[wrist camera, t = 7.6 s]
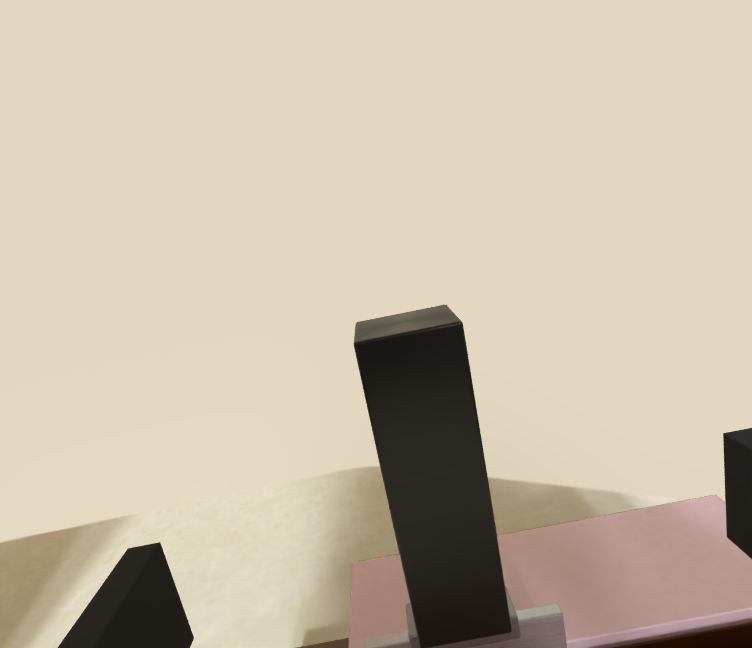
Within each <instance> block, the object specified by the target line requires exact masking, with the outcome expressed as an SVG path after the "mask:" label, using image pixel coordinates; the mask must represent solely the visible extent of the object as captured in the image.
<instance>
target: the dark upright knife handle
mask: <svg viewBox="0 0 752 648" xmlns="http://www.w3.org/2000/svg"><path fill="white" fill-rule="evenodd" d="M354 348H355V352H356V358H357V362H358V367H359V371H360V376H361V380H362V384H363V389H364V394H365V399H366V403H367V408H368V412H369V417H370V421H371V426H372V431H373V435H374V440H375V444H376V449H377V454H378V458H379V463H380V467H381V472H382V476H383V481H384V486H385V490H386V495H387V499H388V504H389V508H390V513H391V518H392V522H393V527H394V531H395V536H396V540H397V545H398V550H399V554H400V559H401V563H402V568H403V573H404V577H405V582H406V586H407V591H408V595H409V600H410V603H408V604H406V606H405V609H406V618H407V628H408V631H403V632H397V633H392V634H386V635H381V636H375V637H370V638H366V639H365V648H567V643H566V636H565V628H564V620H563V613H562V611H561V609H560V607H559V605H558V604H557V603H555V604H550V605H544V606H539V607H533V608H528V609H523V610H517V611H515V608H514V606H513V603H512V600H511V598H510V595H509V592H508V590H507V587H506V586H505V583H504V577H503V570H502V564H501V558H500V552H499V546H498V539H497V533H496V527H495V521H494V515H493V508H492V502H491V496H490V490H489V484H488V477H487V471H486V465H485V459H484V453H483V446H482V441H481V434H480V428H479V422H478V415H477V409H476V403H475V398H474V391H473V385H472V378H471V372H470V366H469V360H468V354H467V347H466V341H465V335H464V329H463V323H462V322H461V320H460V319H459V318H458V317H457V316H456V315H455V314H454V313H453V312H452V311H451V309H449V307H447V305H441V306H436V307H431V308H426V309H421V310H416V311H412V312H406V313H401V314H396V315H391V316H386V317H381V318H376V319H371V320H366V321H361V322H357V323H356V327H355V337H354Z"/></svg>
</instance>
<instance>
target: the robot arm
mask: <svg viewBox="0 0 752 648" xmlns="http://www.w3.org/2000/svg"><path fill="white" fill-rule="evenodd" d="M723 436H724V466H725V499H726V530H727V538H728V539H729V540H730V541H732V542H733V543H734V544H735V545H736V546H737V547H738V548H739V549H741V550H742V551H743V552H744V553H745V554H746V555H747V556H749V557H750V558H751V559H752V428H750V429H744V430H739V431H734V432H728V433H724V435H723ZM193 639H194V637H193V634H192V631H191V628H190V625H189V623H188V620H187V617H186V614H185V611H184V609H183V606H182V603H181V600H180V597H179V594H178V592H177V589H176V586H175V583H174V580H173V577H172V575H171V572H170V569H169V566H168V563H167V561H166V558H165V555H164V552H163V549H162V546H161V544H160V543H154V544H149V545H144V546H139V547H134V548H129V549H127V551H126V552H125V554H124V555H123V556H122V558H121V559H120V561H119V562H118V563H117V565H116V566H115V568H114V569H113V571H112V572H111V573H110V575H109V576H108V578H107V579H106V580H105V582H104V583H103V585H102V586H101V587H100V589H99V590H98V592H97V593H96V594H95V596H94V597H93V599H92V600H91V602H90V603H89V604H88V606H87V607H86V609H85V610H84V611H83V613H82V614H81V616H80V617H79V618H78V620H77V621H76V623H75V624H74V625H73V627H72V628H71V630H70V631H69V633H68V634H67V635H66V637H65V638H64V640H63V641H62V642H61V644H60V645H59V647H58V648H190V646H191V644H192V641H193Z"/></svg>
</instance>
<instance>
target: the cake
mask: <svg viewBox="0 0 752 648" xmlns="http://www.w3.org/2000/svg"><path fill="white" fill-rule="evenodd" d="M497 539H498V546H499V552H500V558H501V564H502V570H503V577H504V583H505V586H506V587H507V590H508V592H509V595H510V598H511V600H512V603H513V606H514V608H515V611H517V610H523V609H528V608H533V607H539V606H544V605H550V604H555V603H557V604H558V605H559V607H560V609H561V611H562V613H563V620H564V628H565V636H566V643H567V648H752V559H751V558H750V557H749V556H747V555H746V554H745V553H744V552H743V551H742V550H741V549H739V548H738V547H737V546H736V545H735V544H734V543H733V542H732V541H730V540H729V539H728V538H727V530H726V503H725V502H724V501H723V500H722V499H720V498H719V497H718V496H717V495H711V496H705V497H700V498H695V499H689V500H684V501H679V502H673V503H668V504H663V505H657V506H652V507H647V508H641V509H636V510H631V511H625V512H620V513H615V514H609V515H604V516H599V517H593V518H588V519H583V520H577V521H572V522H567V523H561V524H556V525H551V526H545V527H540V528H535V529H529V530H524V531H519V532H513V533H508V534H503V535H497ZM408 603H410V600H409V595H408V591H407V586H406V582H405V577H404V573H403V568H402V563H401V559H400V554H396V555H391V556H386V557H380V558H375V559H370V560H364V561H359V562H354V563H352V576H351V602H350V627H349V648H365V639H366V638H370V637H375V636H381V635H386V634H392V633H397V632H403V631H408V628H407V618H406V609H405V606H406V604H408Z"/></svg>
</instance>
